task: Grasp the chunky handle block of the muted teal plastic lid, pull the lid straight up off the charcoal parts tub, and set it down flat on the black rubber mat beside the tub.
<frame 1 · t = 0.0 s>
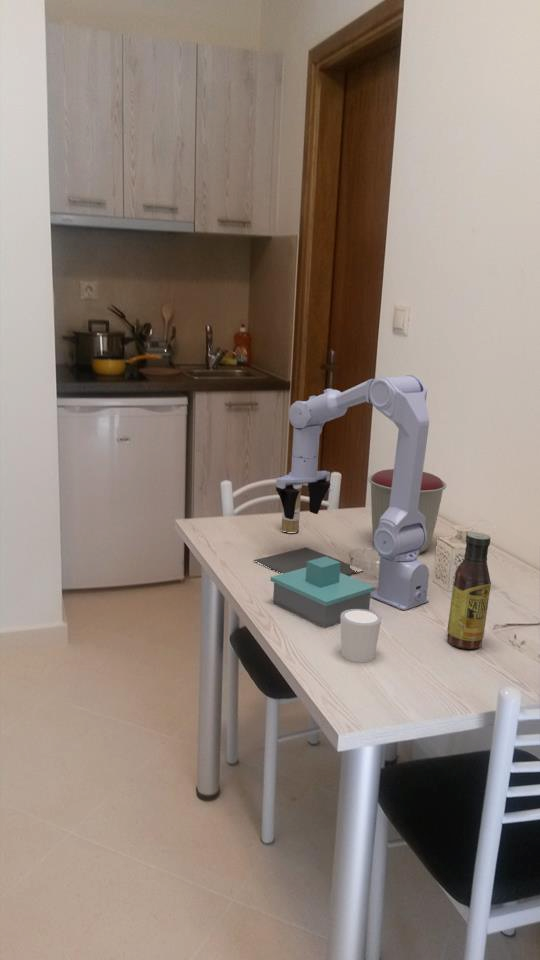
hand: (301, 515, 179), 10 cm above the table, tool pointing down, fingers open, 7 cm apart
lid: (321, 589, 153), point 4 cm above the table, touching tub
sprinkles bottle: (290, 532, 200), on the table
white cup: (357, 656, 135), on the table
canister: (401, 548, 192), on the table
mat: (308, 566, 176), on the table
tub: (320, 607, 154), on the table
sauce bottle: (464, 644, 142), on the table
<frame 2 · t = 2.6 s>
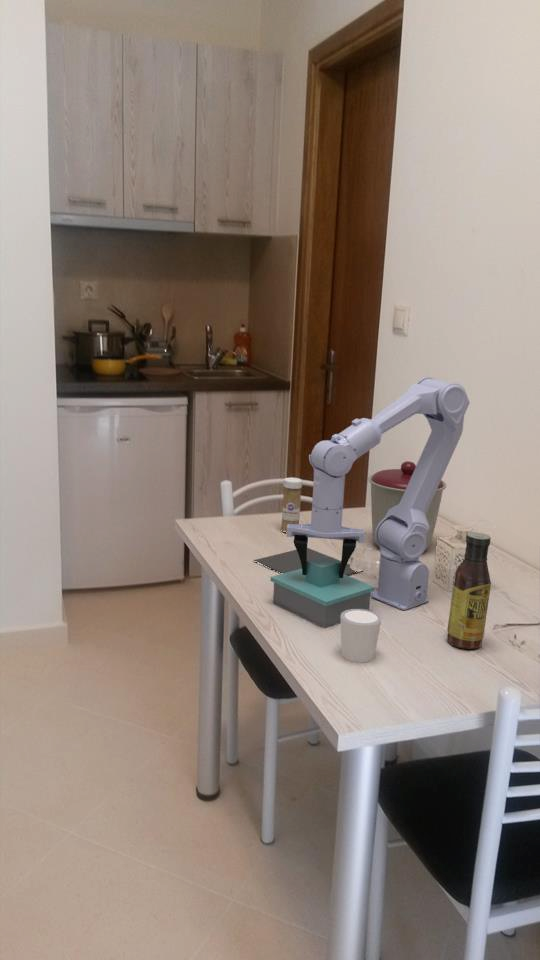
hand: (322, 574, 152), 7 cm above the table, tool pointing down, fingers closed on lid, 6 cm apart
lid: (321, 589, 153), point 4 cm above the table, touching gripper, tub
everything else where it was.
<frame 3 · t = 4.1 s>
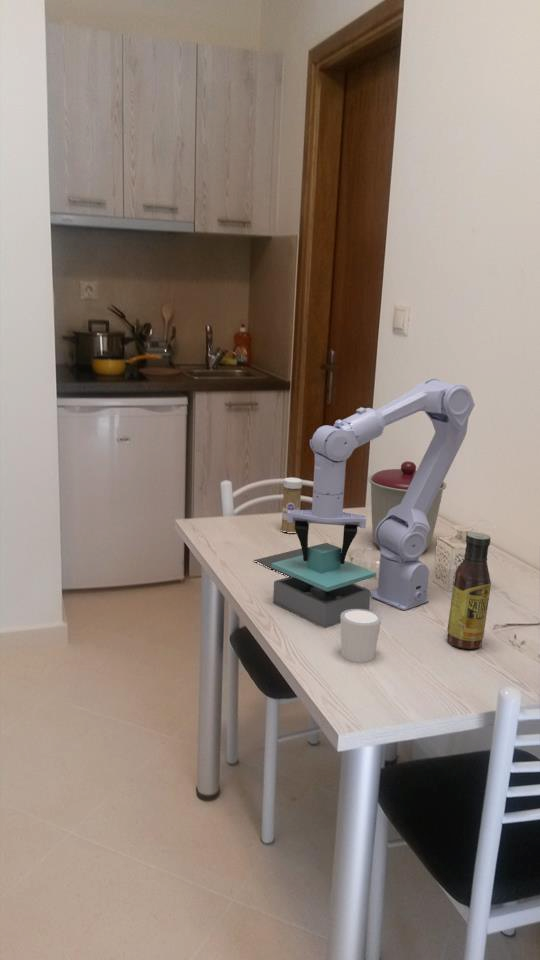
hand: (323, 560, 152), 9 cm above the table, tool pointing down, fingers closed on lid, 6 cm apart
lid: (322, 575, 153), point 6 cm above the table, touching gripper
everything else where it was.
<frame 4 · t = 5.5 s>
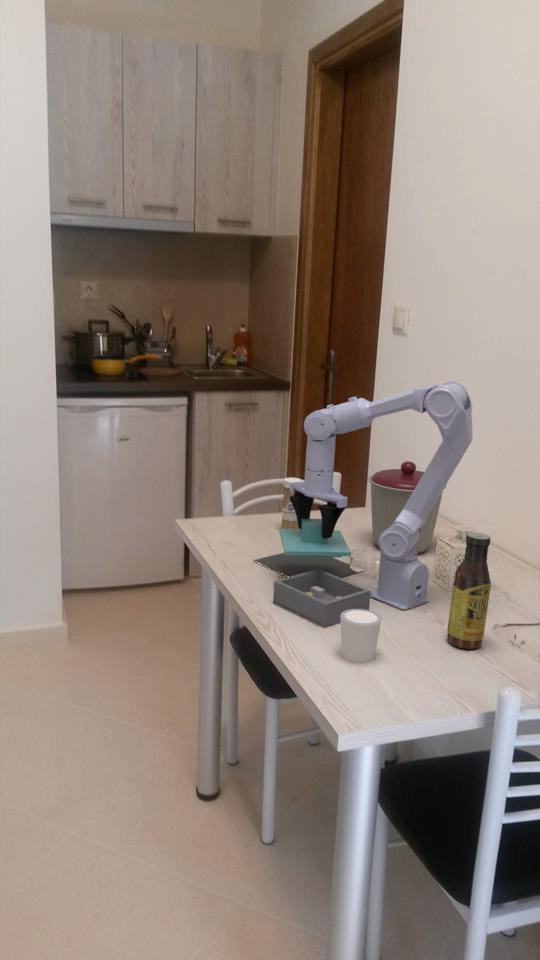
hand: (315, 533, 165), 10 cm above the table, tool pointing down, fingers closed on lid, 6 cm apart
lid: (313, 547, 166), point 7 cm above the table, touching gripper
everything else where it was.
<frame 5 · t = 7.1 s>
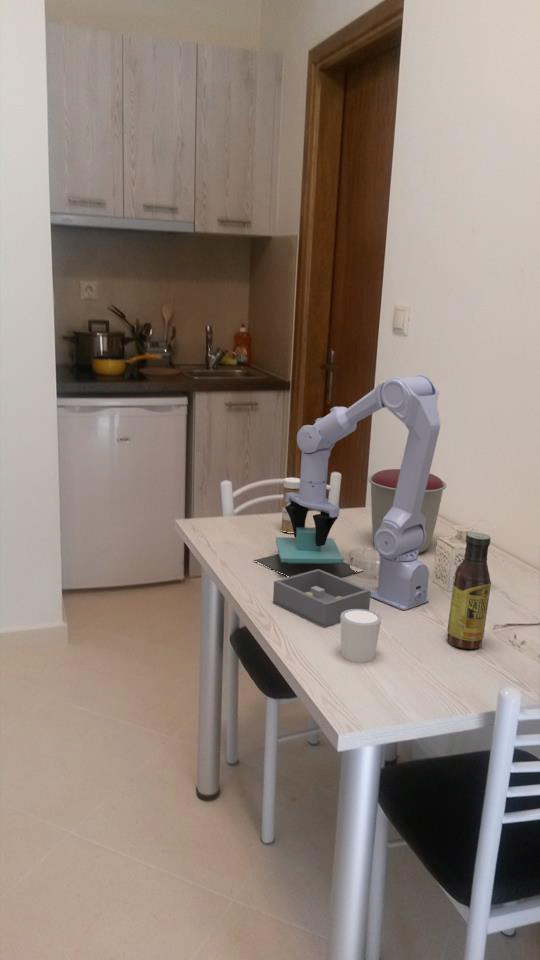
hand: (309, 541, 175), 6 cm above the table, tool pointing down, fingers closed on lid, 6 cm apart
lid: (307, 554, 175), point 3 cm above the table, touching gripper
everything else where it was.
when the fingers open (5 cm above the table, at t = 8.4 s): lid drops 1 cm, resting on mat.
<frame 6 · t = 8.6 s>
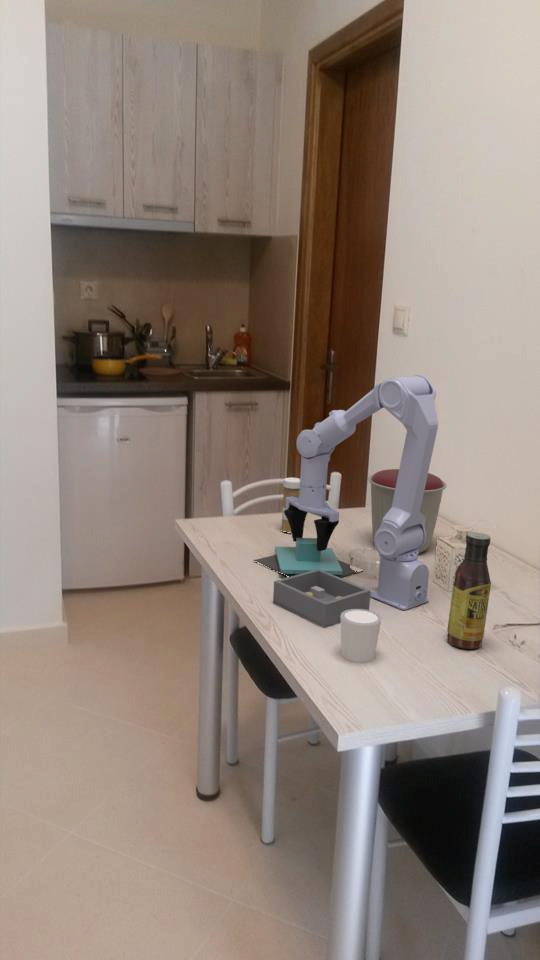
hand: (309, 545, 175), 5 cm above the table, tool pointing down, fingers open, 7 cm apart
lid: (307, 565, 176), resting on mat
everything else where it was.
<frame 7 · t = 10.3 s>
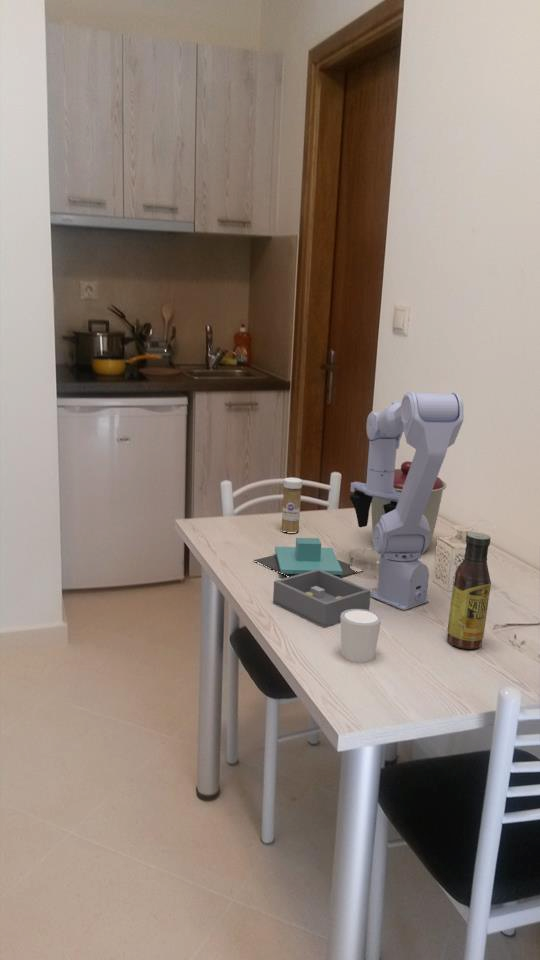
hand: (375, 530, 172), 9 cm above the table, tool pointing down, fingers open, 7 cm apart
nothing on the table moved.
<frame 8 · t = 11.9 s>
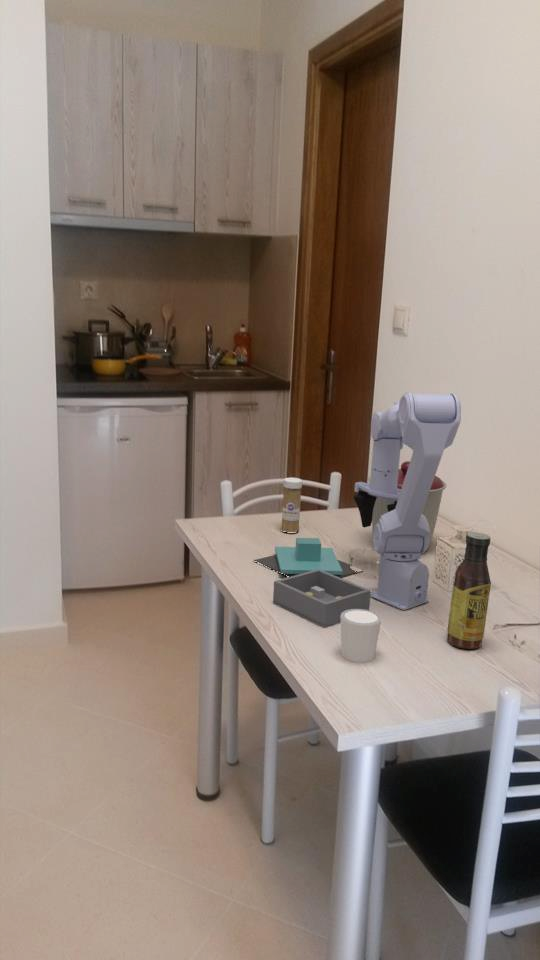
hand: (379, 531, 172), 9 cm above the table, tool pointing down, fingers open, 7 cm apart
nothing on the table moved.
at the end: lid inside the target area on the mat (0.3 cm from its centre), point 0.4 cm above the mat's base; lid tilted 0°; the gripper is holding nothing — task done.
